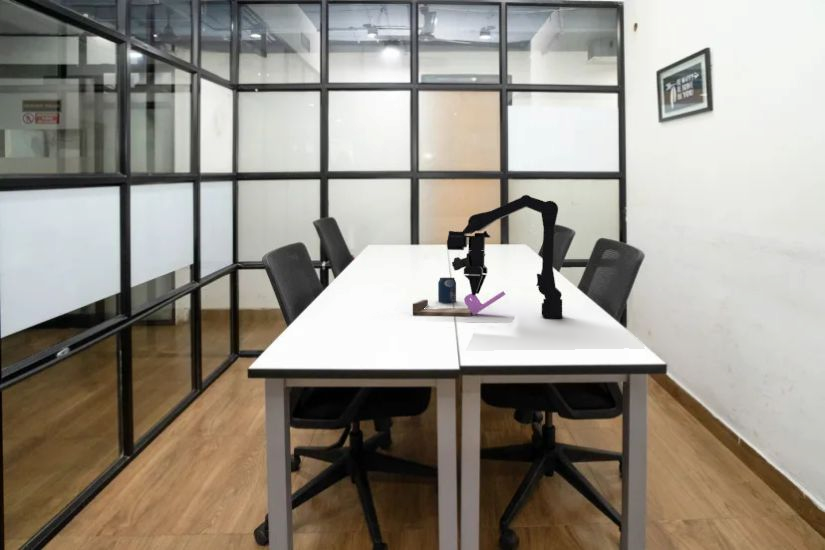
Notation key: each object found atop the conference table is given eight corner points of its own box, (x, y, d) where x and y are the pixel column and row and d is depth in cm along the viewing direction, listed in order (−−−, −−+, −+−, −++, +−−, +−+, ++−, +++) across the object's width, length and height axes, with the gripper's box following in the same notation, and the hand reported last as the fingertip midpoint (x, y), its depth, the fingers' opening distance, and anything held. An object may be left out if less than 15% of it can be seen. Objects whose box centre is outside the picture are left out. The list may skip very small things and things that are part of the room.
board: (476, 311, 215) (476, 300, 215) (469, 316, 197) (469, 304, 197) (423, 310, 220) (423, 299, 220) (412, 315, 202) (412, 303, 202)
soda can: (455, 309, 222) (455, 278, 221) (437, 309, 223) (437, 278, 222) (456, 307, 229) (456, 277, 228) (439, 307, 230) (439, 277, 229)
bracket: (473, 315, 201) (462, 298, 201) (475, 313, 206) (464, 297, 207) (504, 295, 198) (493, 278, 198) (506, 293, 203) (495, 277, 204)
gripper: (458, 250, 216) (457, 292, 217) (449, 249, 198) (448, 295, 198) (488, 250, 213) (487, 293, 214) (482, 250, 195) (481, 296, 196)
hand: (475, 294), depth 206 cm, fingers open, 9 cm apart
